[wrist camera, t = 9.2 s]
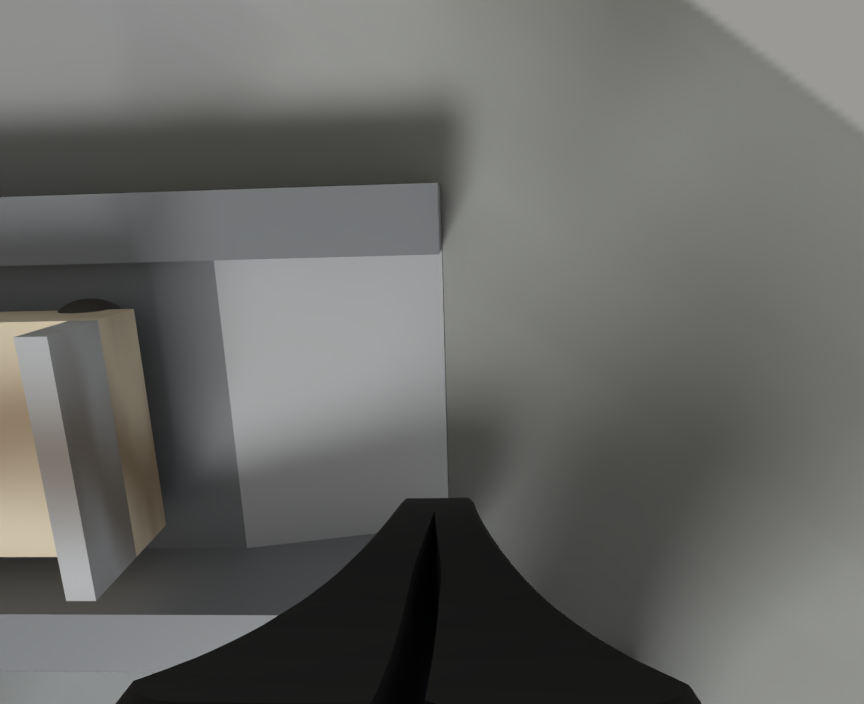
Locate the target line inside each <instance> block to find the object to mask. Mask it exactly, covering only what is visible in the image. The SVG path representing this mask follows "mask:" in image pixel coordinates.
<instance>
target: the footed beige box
mask: <svg viewBox="0 0 864 704" xmlns="http://www.w3.org/2000/svg"><path fill="white" fill-rule="evenodd" d="M165 526H166V521H165V515H164V508H163V501H162V494H161V488H160V481H159V474H158V468H157V461H156V454H155V448H154V441H153V434H152V428H151V421H150V414H149V407H148V401H147V394H146V387H145V381H144V374H143V367H142V361H141V354H140V347H139V341H138V334H137V327H136V320H135V314H134V309H122V308H120V307H119V306H117V305H116V304H114V303H112V302H109V301H106V300H102V299H94V298H87V299H80V300H76V301H73V302H71V303H68V304H67V305H65V306H63V307H62V308H61V309H59V310H58V311H13V312H0V557H57V558H58V563H59V568H60V573H61V578H62V583H63V588H64V593H65V598H66V601H97V600H98V599H99V597H100V596H101V595H102V594H103V593H104V592H105V591H106V590H107V589H108V588H109V587H110V585H111V584H112V583H113V582H114V581H115V580H116V579H117V578H118V577H119V576H120V575H121V573H122V572H123V571H124V570H125V569H126V568H127V567H128V566H129V565H130V564H131V563H132V561H133V560H134V559H135V558H136V557H137V556H138V555H139V554H140V553H141V552H142V551H143V549H144V548H145V547H146V546H147V545H148V544H149V543H150V542H151V541H152V540H153V539H154V537H155V536H156V535H157V534H158V533H159V532H160V531H161V530H162V529H163V528H164V527H165Z"/></svg>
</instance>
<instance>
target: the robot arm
mask: <svg viewBox="0 0 864 704" xmlns="http://www.w3.org/2000/svg"><path fill="white" fill-rule="evenodd" d="M116 704H701V702H700V701H699V699H698V698H697V696H696V695H695V693H694V692H693V690H692V689H691V687H690V686H689V685H688V684H686V683H683V682H681V681H679V680H677V679H675V678H673V677H671V676H668V675H666V674H664V673H662V672H660V671H658V670H655V669H653V668H651V667H649V666H647V665H645V664H643V663H640V662H638V661H636V660H634V659H632V658H630V657H629V656H627V655H625V654H623V653H622V652H620V651H618V650H616V649H615V648H613V647H611V646H610V645H608V644H606V643H604V642H603V641H601V640H599V639H598V638H596V637H595V636H593V635H592V634H590V633H589V632H587V631H585V630H584V629H582V628H581V627H580V626H578V625H577V624H576V623H574V622H573V621H572V620H570V619H569V618H568V617H566V616H565V615H563V614H562V613H561V612H559V611H558V610H557V609H556V608H555V607H553V606H552V605H551V604H550V603H548V602H547V601H546V600H545V599H544V598H543V597H542V596H541V595H540V594H539V593H538V592H537V591H536V590H535V589H534V588H533V587H532V586H531V585H530V584H529V583H528V582H527V581H526V580H525V579H524V578H523V577H522V576H521V574H520V573H519V572H518V571H517V570H516V569H515V567H514V566H513V565H512V564H511V563H510V561H509V560H508V559H507V558H506V556H505V555H504V554H503V552H502V551H501V550H500V548H499V547H498V545H497V544H496V542H495V541H494V540H493V538H492V537H491V535H490V534H489V532H488V531H487V529H486V527H485V526H484V524H483V522H482V520H481V519H480V517H479V515H478V513H477V511H476V508H475V505H474V503H473V502H472V501H471V500H470V499H469V498H406V499H405V500H404V501H403V502H402V503H401V504H400V505H399V507H398V508H397V509H396V510H395V512H394V513H393V514H392V516H391V517H390V518H389V519H388V520H387V522H386V523H385V524H384V525H383V526H382V528H381V529H380V530H379V531H378V532H377V533H376V535H375V536H374V537H373V538H372V539H371V540H370V541H369V542H368V543H367V544H366V546H365V547H364V548H363V549H362V550H361V551H360V552H359V553H358V554H357V555H356V556H355V557H354V558H353V559H352V560H351V561H350V562H349V563H348V564H347V565H346V566H344V567H343V568H342V569H341V570H340V571H339V572H338V573H337V574H336V575H335V576H334V577H332V578H331V579H330V580H329V581H328V582H326V583H325V584H324V585H322V586H321V587H320V588H318V589H317V590H316V591H314V592H313V593H312V594H310V595H309V596H308V597H306V598H305V599H304V600H302V601H301V602H299V603H298V604H296V605H294V606H293V607H291V608H289V609H288V610H286V611H285V612H283V613H281V614H280V615H278V616H277V617H275V618H273V619H272V620H270V621H269V622H267V623H265V624H264V625H262V626H260V627H258V628H257V629H255V630H253V631H251V632H249V633H247V634H245V635H243V636H241V637H239V638H237V639H235V640H233V641H231V642H229V643H227V644H225V645H223V646H221V647H219V648H216V649H214V650H212V651H210V652H208V653H205V654H203V655H201V656H198V657H196V658H194V659H191V660H188V661H186V662H183V663H181V664H178V665H175V666H173V667H170V668H168V669H165V670H162V671H160V672H157V673H154V674H152V675H149V676H146V677H144V678H141V679H138V680H135V681H133V682H132V683H131V685H130V686H129V687H128V689H127V690H126V691H125V692H124V694H123V695H122V696H121V698H120V699H119V700H118V701H117V703H116Z"/></svg>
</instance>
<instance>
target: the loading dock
mask: <svg viewBox="0 0 864 704" xmlns="http://www.w3.org/2000/svg"><path fill="white" fill-rule="evenodd" d="M87 298H94V299H102V300H106V301H109V302H112V303H114V304H116V305H117V306H119V307H120V308H122V309H134V314H135V320H136V327H137V334H138V341H139V347H140V354H141V361H142V367H143V374H144V381H145V387H146V394H147V401H148V407H149V414H150V421H151V428H152V434H153V441H154V448H155V454H156V461H157V468H158V474H159V481H160V488H161V494H162V501H163V508H164V515H165V521H166V526H165V527H164V528H163V529H162V530H161V531H160V532H159V533H158V534H157V535H156V536H155V537H154V539H153V540H152V541H151V542H150V543H149V544H148V545H147V546H146V547H145V548H144V549H143V551H142V552H141V553H140V554H139V555H138V556H137V557H136V558H135V559H134V560H133V561H132V563H131V564H130V565H129V566H128V567H127V568H126V569H125V570H124V571H123V572H122V573H121V575H120V576H119V577H118V578H117V579H116V580H115V581H114V582H113V583H112V584H111V585H110V587H109V588H108V589H107V590H106V591H105V592H104V593H103V594H102V595H101V596H100V597H99V599H98V600H97V601H66V598H65V593H64V588H63V583H62V578H61V573H60V568H59V563H58V558H57V557H0V671H37V672H154V673H157V672H160V671H162V670H165V669H168V668H170V667H173V666H175V665H178V664H181V663H183V662H186V661H188V660H191V659H194V658H196V657H198V656H201V655H203V654H205V653H208V652H210V651H212V650H214V649H216V648H219V647H221V646H223V645H225V644H227V643H229V642H231V641H233V640H235V639H237V638H239V637H241V636H243V635H245V634H247V633H249V632H251V631H253V630H255V629H257V628H258V627H260V626H262V625H264V624H265V623H267V622H269V621H270V620H272V619H273V618H275V617H277V616H278V615H280V614H281V613H283V612H285V611H286V610H288V609H289V608H291V607H293V606H294V605H296V604H298V603H299V602H301V601H302V600H304V599H305V598H306V597H308V596H309V595H310V594H312V593H313V592H314V591H316V590H317V589H318V588H320V587H321V586H322V585H324V584H325V583H326V582H328V581H329V580H330V579H331V578H332V577H334V576H335V575H336V574H337V573H338V572H339V571H340V570H341V569H342V568H343V567H344V566H346V565H347V564H348V563H349V562H350V561H351V560H352V559H353V558H354V557H355V556H356V555H357V554H358V553H359V552H360V551H361V550H362V549H363V548H364V547H365V546H366V544H367V543H368V542H369V541H370V540H371V539H372V538H373V537H374V536H375V535H376V533H377V532H378V531H379V530H380V529H381V528H382V526H383V525H384V524H385V523H386V522H387V520H388V519H389V518H390V517H391V516H392V514H393V513H394V512H395V510H396V509H397V508H398V507H399V505H400V504H401V503H402V502H403V501H404V500H405V499H406V498H448V467H447V428H446V390H445V351H444V312H443V274H442V236H441V198H440V185H439V184H438V183H413V184H382V185H352V186H322V187H291V188H261V189H231V190H200V191H170V192H139V193H109V194H79V195H48V196H18V197H0V312H13V311H58V310H59V309H61V308H62V307H63V306H65V305H67V304H68V303H71V302H73V301H76V300H80V299H87Z"/></svg>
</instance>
